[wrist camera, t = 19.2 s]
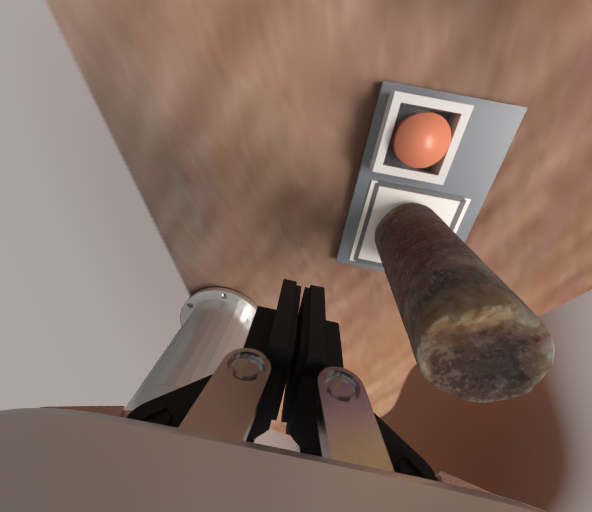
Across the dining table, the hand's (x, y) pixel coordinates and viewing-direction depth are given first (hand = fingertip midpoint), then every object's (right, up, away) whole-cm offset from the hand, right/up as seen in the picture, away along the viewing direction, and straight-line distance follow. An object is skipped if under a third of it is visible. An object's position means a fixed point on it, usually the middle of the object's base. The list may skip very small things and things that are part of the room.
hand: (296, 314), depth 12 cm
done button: (+12, +14, +17) cm, 25 cm away
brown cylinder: (+13, +5, +23) cm, 26 cm away
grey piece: (+14, +9, +21) cm, 27 cm away
